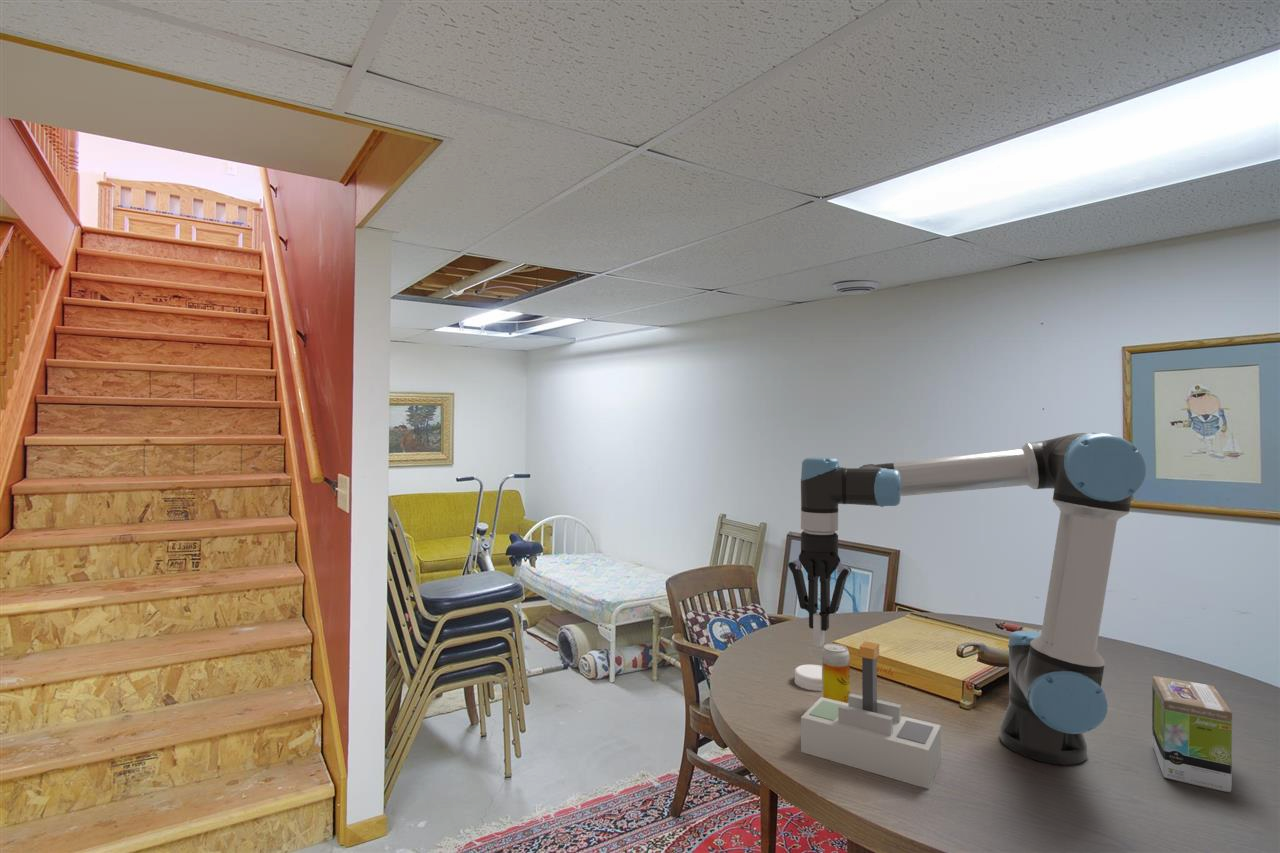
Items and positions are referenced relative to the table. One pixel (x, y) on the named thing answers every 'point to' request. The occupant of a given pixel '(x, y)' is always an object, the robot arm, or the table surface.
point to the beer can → (835, 672)
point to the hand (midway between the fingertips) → (818, 644)
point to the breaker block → (873, 739)
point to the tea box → (1192, 733)
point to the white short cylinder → (809, 677)
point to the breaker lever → (869, 675)
